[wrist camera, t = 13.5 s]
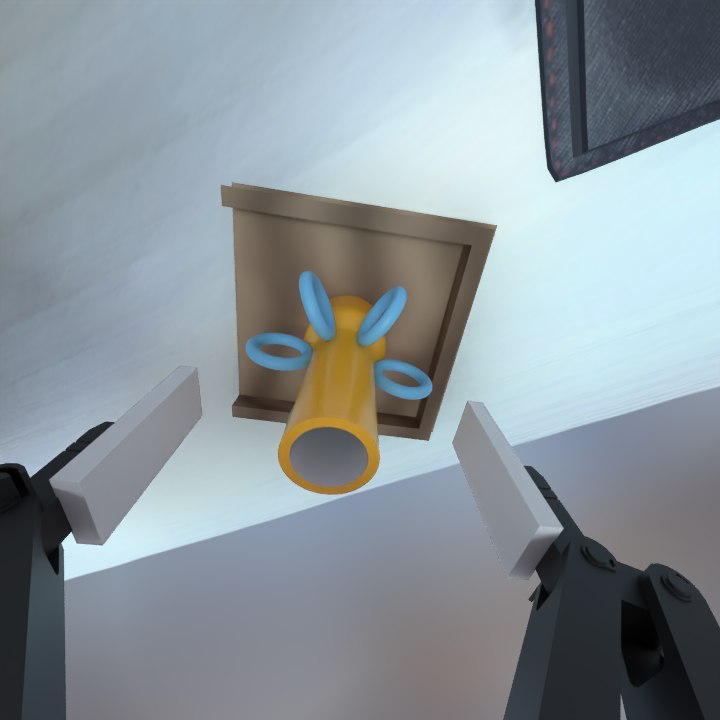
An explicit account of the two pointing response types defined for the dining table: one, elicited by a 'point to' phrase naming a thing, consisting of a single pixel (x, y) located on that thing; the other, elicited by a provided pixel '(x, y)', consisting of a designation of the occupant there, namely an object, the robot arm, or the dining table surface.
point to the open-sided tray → (351, 291)
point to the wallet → (624, 76)
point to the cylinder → (338, 386)
